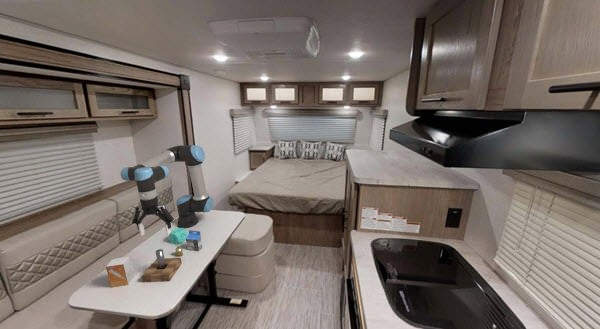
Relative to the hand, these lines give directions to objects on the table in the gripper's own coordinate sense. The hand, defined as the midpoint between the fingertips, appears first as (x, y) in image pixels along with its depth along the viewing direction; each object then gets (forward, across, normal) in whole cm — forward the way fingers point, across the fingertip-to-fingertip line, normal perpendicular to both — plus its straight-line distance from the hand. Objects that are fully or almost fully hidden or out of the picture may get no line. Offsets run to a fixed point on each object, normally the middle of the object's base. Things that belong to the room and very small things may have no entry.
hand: (155, 234), depth 119 cm
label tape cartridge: (+25, +9, +21) cm, 34 cm away
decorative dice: (+25, -6, +31) cm, 40 cm away
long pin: (+24, 0, 0) cm, 25 cm away
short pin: (+24, +2, +15) cm, 29 cm away
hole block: (+24, 0, 0) cm, 24 cm away
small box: (+25, -18, -6) cm, 31 cm away
